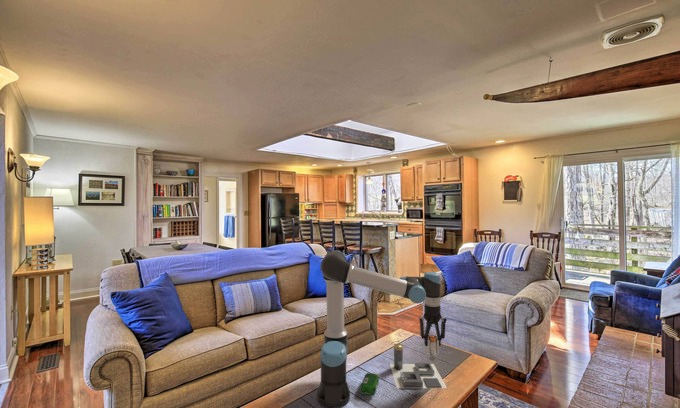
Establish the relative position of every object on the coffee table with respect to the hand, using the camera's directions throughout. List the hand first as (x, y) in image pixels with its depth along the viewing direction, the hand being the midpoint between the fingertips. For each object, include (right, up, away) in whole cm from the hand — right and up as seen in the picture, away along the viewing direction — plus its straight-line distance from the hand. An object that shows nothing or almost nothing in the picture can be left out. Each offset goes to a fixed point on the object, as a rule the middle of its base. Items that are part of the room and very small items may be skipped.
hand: (432, 352), depth 153 cm
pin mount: (-10, -15, +1) cm, 18 cm away
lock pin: (0, -3, 0) cm, 3 cm away
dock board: (-6, -16, +7) cm, 19 cm away
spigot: (-14, -15, +14) cm, 25 cm away
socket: (-1, -15, +11) cm, 19 cm away
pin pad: (0, -15, 0) cm, 15 cm away
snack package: (-31, -17, -3) cm, 35 cm away
